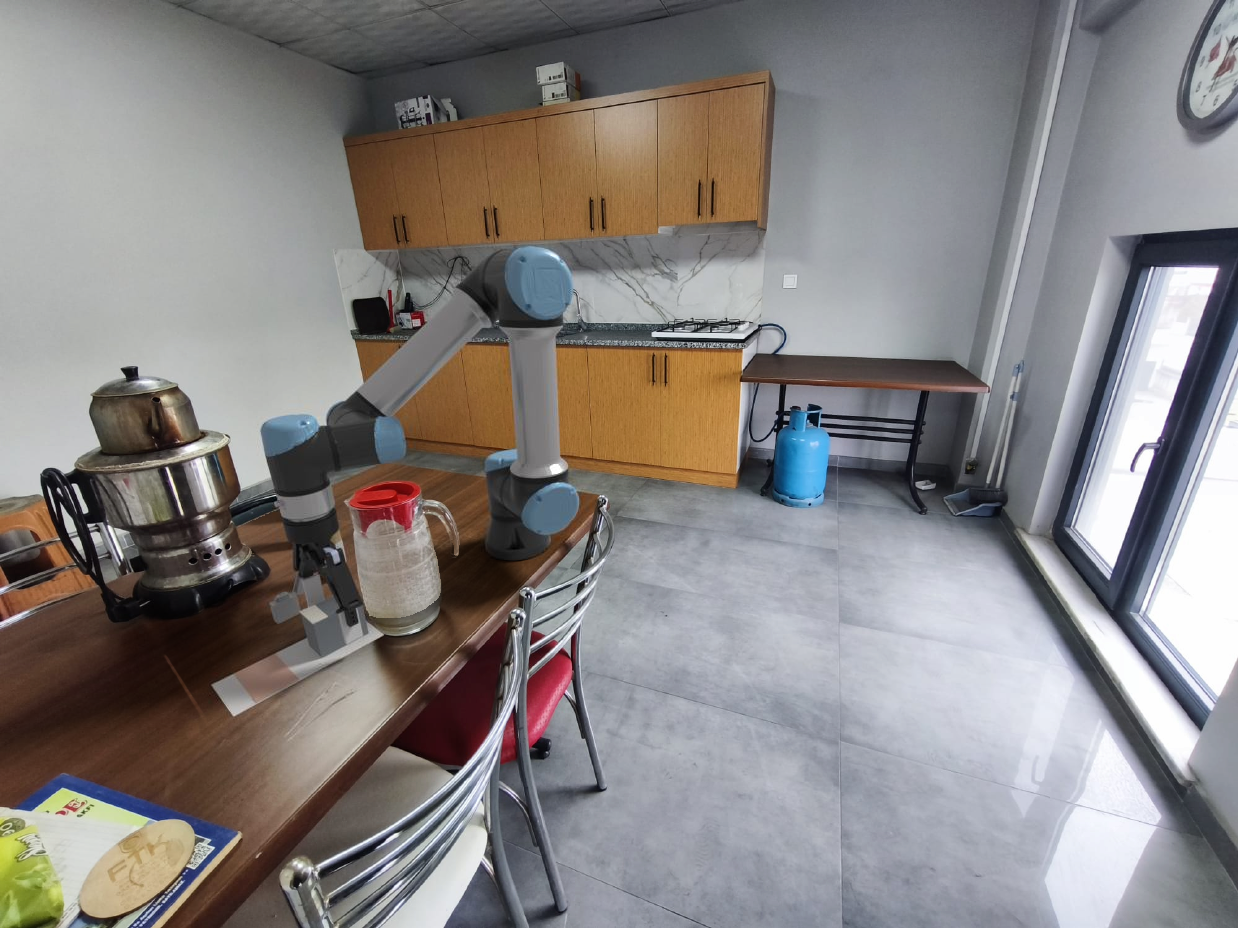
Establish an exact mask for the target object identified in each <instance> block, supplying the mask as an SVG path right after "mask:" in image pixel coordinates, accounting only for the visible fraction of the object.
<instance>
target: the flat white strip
mask: <svg viewBox="0 0 1238 928" xmlns="http://www.w3.org/2000/svg"><path fill="white" fill-rule="evenodd" d="M366 623H367V628H368V632H369V634H367V635H365V636H363V637H361V638H359V639H357V640H355V641H353V642H352V643H350V644H348V645H346V646H344V647H342V648H340V649H338V650H336V651H335V652H333V653H331V654H329V655H327V656H325V657H323V658H322V657H321V656H320V655H318V654H317V653H316V652H315V651H314V650H313V649H312V648H311V647H310V646H309V643H308V639H307V637H306V638H304V639H302V640H300V641H297V642H295V643H293V644H292V645H290V646H287V647H285V648H284V649H281V650H279V651H277V652H276V653H275V652H274V654H271V655H269V656H267V657H265V658H263V659H262V660H261V659H260V660H258V661H257V662H255V663H252V664H251V665H249V666H247V667H245V668H242V669H241V670H239V671H237V672H234V673H233V674H231V675H228V676H225V677H224V678H223V679H222V678H221V679H220V680H219V681H216V682H214V683H212V684H211V687H212V688H213V690H214V691H215V692H216V694H217V695H218V697H219V698H220V699H221V702H223V704H224V705H225V707H226V708H227V709H228V711H229V713H231V716H232V717H235V716H237V715H240V714H241V713H243V712H245V711H247V710H249V709H250V708H252V707H254V706H256V705H258V704H259V703H261V702H263V701H265V700H267V699H269V698H270V697H273V696H274V695H276V694H278V693H280V692H282V691H283V690H285V689H287V688H289V687H291V686H293V685H294V684H297V683H298V682H300V681H302V680H303V679H305V678H307V677H309V676H311V675H313V674H315V673H317V672H319V671H320V670H323V669H324V668H326V667H327V666H329V665H331V664H334V663H335V662H337V661H339V660H341V659H342V658H344V657H346V656H348V655H350V654H352V653H354V652H355V651H357V650H359V649H360V648H362V647H365V646H367V645H368V644H370V643H372V642H374V641H375V640H378V639H379V638H381V637H383V636H384V635H385V634H384V633H383V632H381V631H380V630H379V629H378V628H376V627H374V625H373V624H371V623H369V622H368V621H367V620H366Z"/></svg>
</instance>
